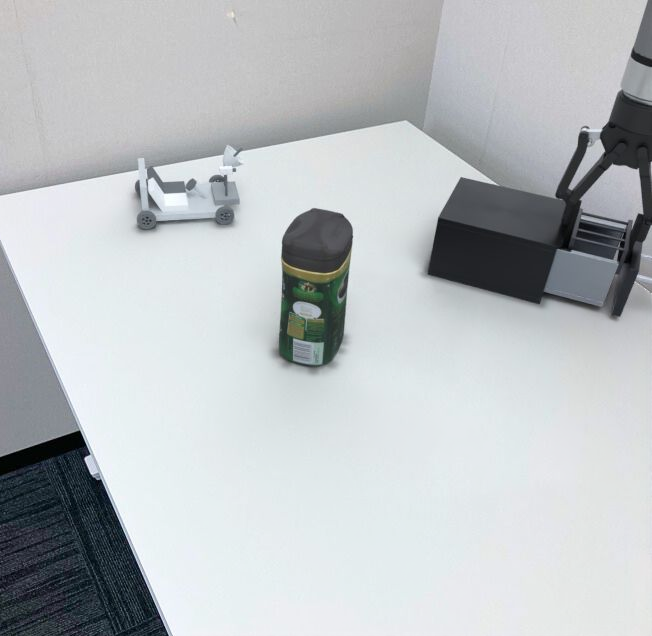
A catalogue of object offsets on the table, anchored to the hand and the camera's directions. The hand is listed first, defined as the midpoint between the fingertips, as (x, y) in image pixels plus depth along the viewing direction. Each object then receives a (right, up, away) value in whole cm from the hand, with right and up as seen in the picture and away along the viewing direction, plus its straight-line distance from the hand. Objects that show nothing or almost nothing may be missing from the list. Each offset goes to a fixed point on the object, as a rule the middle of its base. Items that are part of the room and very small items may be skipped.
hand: (594, 250), depth 107 cm
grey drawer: (0, -4, +4) cm, 6 cm away
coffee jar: (-41, -14, -9) cm, 44 cm away
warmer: (-13, -1, +8) cm, 15 cm away
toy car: (-60, +9, +17) cm, 63 cm away
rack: (0, 0, 0) cm, 0 cm away
